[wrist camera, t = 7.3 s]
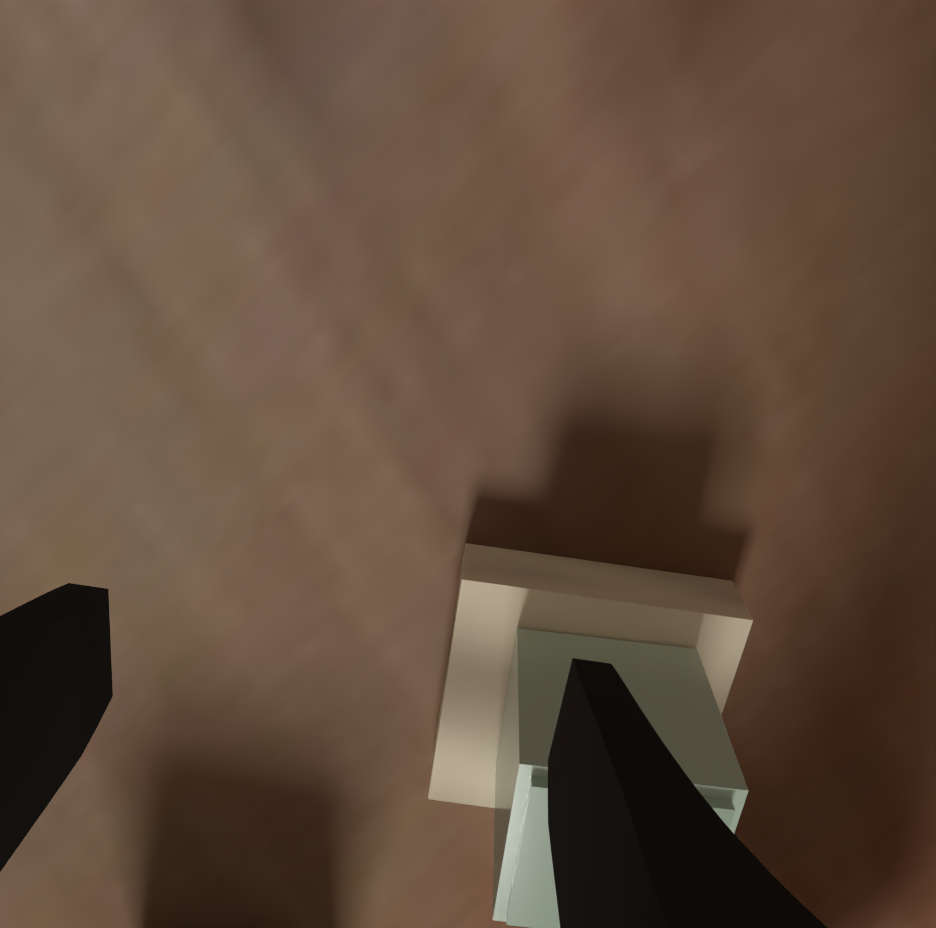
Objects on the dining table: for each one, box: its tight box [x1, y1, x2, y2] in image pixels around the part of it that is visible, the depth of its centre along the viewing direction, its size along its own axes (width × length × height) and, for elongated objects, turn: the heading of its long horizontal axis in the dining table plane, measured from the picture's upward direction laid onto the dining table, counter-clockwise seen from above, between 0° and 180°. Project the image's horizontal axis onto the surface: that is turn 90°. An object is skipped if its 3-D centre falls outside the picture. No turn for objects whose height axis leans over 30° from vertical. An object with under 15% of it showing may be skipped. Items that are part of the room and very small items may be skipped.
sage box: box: [493, 628, 749, 928], centre depth 20 cm, size 5×5×5 cm
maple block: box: [428, 543, 753, 808], centre depth 24 cm, size 8×8×2 cm
